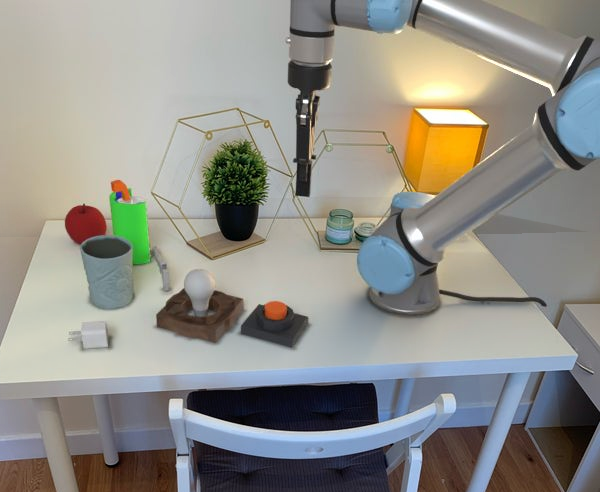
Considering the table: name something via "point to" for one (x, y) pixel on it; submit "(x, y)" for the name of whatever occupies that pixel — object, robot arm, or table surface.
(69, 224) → the apple
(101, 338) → the usb wall charger
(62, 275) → the table surface
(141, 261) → the green-shelled ribbed roller
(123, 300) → the grey embossed cup
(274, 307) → the test button
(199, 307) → the lightbulb
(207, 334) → the bulb stand
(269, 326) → the black button base
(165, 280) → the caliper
